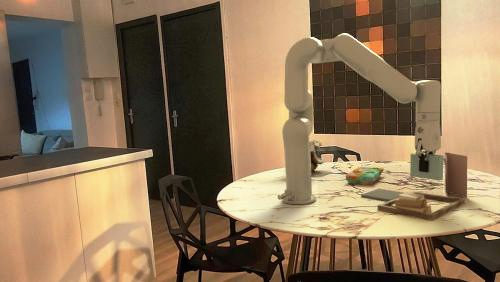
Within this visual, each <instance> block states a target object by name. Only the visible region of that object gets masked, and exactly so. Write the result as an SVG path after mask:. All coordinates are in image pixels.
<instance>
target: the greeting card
mask: <svg viewBox="0 0 500 282" xmlns="http://www.w3.org/2000/svg"><path fill="white" fill-rule="evenodd" d="M443 164H444V193H445V196H447V197H448V193H449V194H450V193H451V194H454V195H457V196H458V197H459V196H460V197H463V198H464V199H465V198H466V199H468V155H463V154H456V153H452V152H446V151H445V152H444V158H443Z"/></svg>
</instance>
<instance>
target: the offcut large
mask: <svg viewBox="0 0 500 282" xmlns="http://www.w3.org/2000/svg"><path fill="white" fill-rule="evenodd" d="M390 207H395V208H400V209H406V210H411V211H416V212H422V213H427V214H430V212H432V205H431V204H427V205H426V206H424V207H423V208H422V209H415V208H408V207H401V206H396V205H395V204H393V205H391V206H390Z"/></svg>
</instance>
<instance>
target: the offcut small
mask: <svg viewBox="0 0 500 282" xmlns="http://www.w3.org/2000/svg"><path fill="white" fill-rule="evenodd" d="M399 200H405V201H410V202H415V203H416V202H419V201H422V200H424V195H421V194H415V193H410V192H408V191H407V192H404V193H403V194H400V195H399Z"/></svg>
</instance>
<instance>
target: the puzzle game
mask: <svg viewBox="0 0 500 282" xmlns="http://www.w3.org/2000/svg"><path fill="white" fill-rule="evenodd" d="M384 170H385V169H384V168H383V167H367V166H365V167H364V166H360V167H357V168H355V169H353V170H351V171H350V172H349V173H347V174H346V175H345V180H346V181H347V183H349V184H352V183H354V184H353V185H368V184H369V185H370V186H371V185H373V184H374V183H375V182H376V181H377V180H378V179H379V178H380V177H381V175H382V174H383V172H384ZM369 185H368V186H369Z"/></svg>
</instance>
